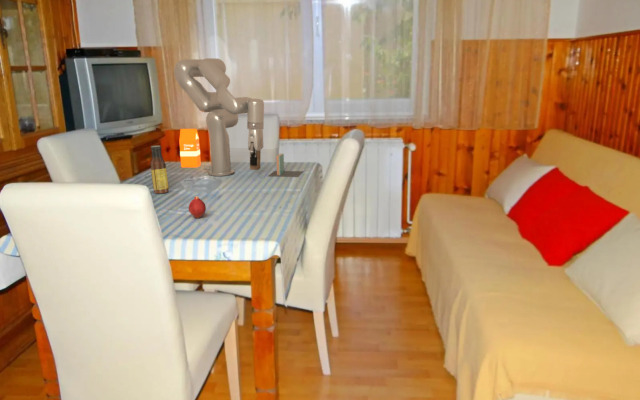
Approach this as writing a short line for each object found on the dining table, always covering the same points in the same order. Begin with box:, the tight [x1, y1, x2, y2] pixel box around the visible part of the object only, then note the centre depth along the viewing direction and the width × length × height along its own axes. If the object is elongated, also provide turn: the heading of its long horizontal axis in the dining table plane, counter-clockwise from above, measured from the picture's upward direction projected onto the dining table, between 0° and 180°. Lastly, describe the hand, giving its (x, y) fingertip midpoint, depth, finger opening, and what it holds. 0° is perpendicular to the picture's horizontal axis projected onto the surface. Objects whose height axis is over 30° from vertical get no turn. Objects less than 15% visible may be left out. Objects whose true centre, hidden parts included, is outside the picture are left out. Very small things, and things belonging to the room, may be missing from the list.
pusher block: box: [249, 149, 262, 171], centre depth 246 cm, size 4×4×10 cm
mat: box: [268, 170, 304, 178], centre depth 252 cm, size 15×14×1 cm
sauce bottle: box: [150, 145, 170, 195], centre depth 218 cm, size 6×6×20 cm
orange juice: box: [178, 128, 202, 168], centre depth 277 cm, size 8×9×20 cm
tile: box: [275, 153, 285, 175], centre depth 252 cm, size 2×8×9 cm, turn 171°
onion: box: [188, 195, 207, 219], centre depth 181 cm, size 6×6×8 cm
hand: (255, 163), depth 246 cm, fingers closed on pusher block, 4 cm apart
